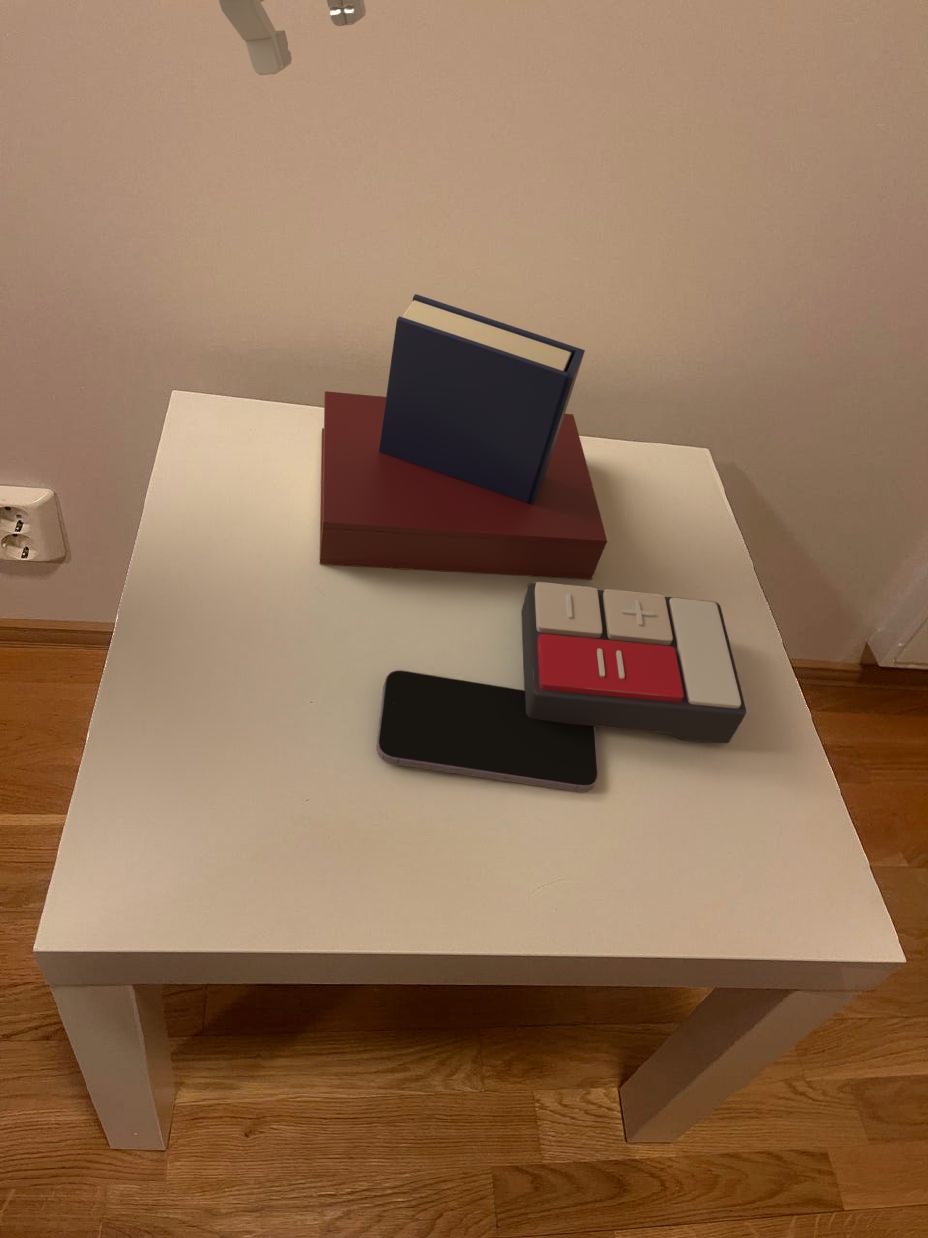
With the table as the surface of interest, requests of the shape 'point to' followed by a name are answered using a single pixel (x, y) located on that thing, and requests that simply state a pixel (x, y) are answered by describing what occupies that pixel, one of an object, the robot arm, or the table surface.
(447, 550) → the encyclopedia
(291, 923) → the table surface
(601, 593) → the calculator
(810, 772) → the table surface
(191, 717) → the table surface
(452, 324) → the hardcover book
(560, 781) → the smartphone
